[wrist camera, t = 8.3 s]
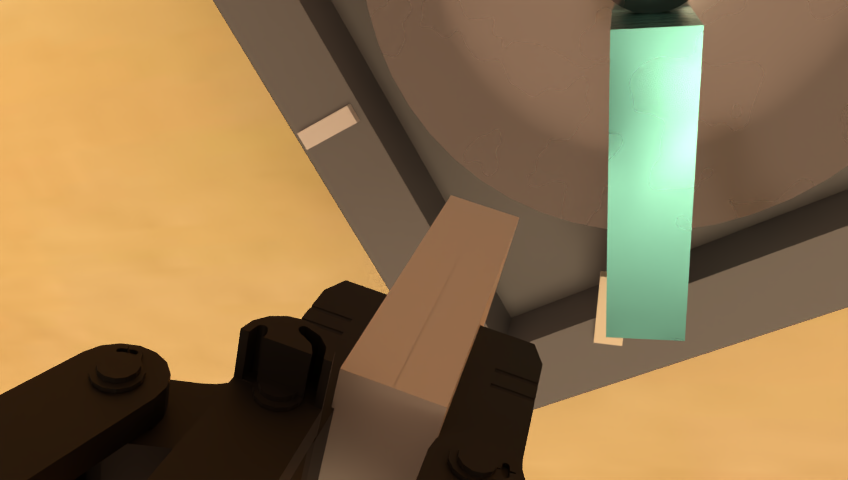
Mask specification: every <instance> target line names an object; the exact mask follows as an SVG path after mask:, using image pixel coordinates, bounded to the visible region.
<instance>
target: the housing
mask: <svg viewBox="0 0 848 480" xmlns="http://www.w3.org/2000/svg"><path fill="white" fill-rule="evenodd" d="M213 1H214V3H215V5H216V6H217V8H218V10H219V11H220V13H221V14H222V16H223V18H224V19H225V21H226V23H227V24H228V26H229V28H230V29H231V31H232V33H233V34H234V36H235V37H236V39H237V41H238V42H239V44H240V46H241V47H242V49H243V51H244V52H245V54H246V56H247V57H248V59H249V60H250V62H251V64H252V65H253V67H254V69H255V70H256V72H257V74H258V75H259V77H260V79H261V80H262V82H263V83H264V85H265V87H266V88H267V90H268V92H269V93H270V95H271V97H272V98H273V100H274V102H275V103H276V105H277V106H278V108H279V110H280V111H281V113H282V115H283V116H284V118H285V120H286V121H287V123H288V125H289V126H290V128H291V130H292V131H293V133H294V134H295V136H296V138H297V139H298V141H299V143H300V144H301V146H302V148H303V149H304V151H305V153H306V154H307V156H308V157H309V159H310V161H311V162H312V164H313V166H314V167H315V169H316V171H317V172H318V174H319V176H320V177H321V179H322V180H323V182H324V184H325V185H326V187H327V189H328V190H329V192H330V194H331V195H332V197H333V199H334V200H335V202H336V203H337V205H338V207H339V208H340V210H341V212H342V213H343V215H344V217H345V218H346V220H347V222H348V223H349V225H350V227H351V228H352V230H353V231H354V233H355V235H356V236H357V238H358V240H359V241H360V243H361V245H362V246H363V248H364V250H365V251H366V253H367V254H368V256H369V258H370V259H371V261H372V263H373V264H374V266H375V268H376V269H377V271H378V273H379V274H380V276H381V277H382V279H383V281H384V282H385V284H386V286H387V287H388V289H389V291H390V290H391V288H392V287H393V285H394V283H395V282H396V280H397V279H398V277H399V276H400V274H401V273H402V271H403V269H404V268H405V266H406V265H407V263H408V262H409V260H410V258H411V257H412V255H413V254H414V252H415V251H416V249H417V247H418V246H419V244H420V243H421V241H422V240H423V238H424V237H425V235H426V233H427V232H428V230H429V229H430V227H431V226H432V224H433V222H434V221H435V219H436V218H437V216H438V215H439V213H440V211H441V210H442V208H443V207H444V205H445V204H446V202H447V201H448V199H449V197H450V196H451V195H452V196H455V197H458V198H461V199H464V200H467V201H470V202H473V203H476V204H479V205H483V206H486V207H489V208H492V209H495V210H498V211H501V212H504V213H507V214H510V215H513V216H516V217H519V220H518V223H517V226H516V230H515V233H514V236H513V239H512V242H511V245H510V248H509V251H508V254H507V257H506V260H505V263H504V266H503V269H502V272H501V275H500V278H499V282H498V285H497V288H496V291H495V294H494V297H493V300H492V303H491V306H490V309H489V312H488V315H487V318H486V321H485V324H484V327H487V328H490V329H493V330H496V331H498V332H501V333H504V334H507V335H510V336H513V337H516V338H519V339H521V340H524V341H527V342H530V343H533V344H535V346H536V349H537V351H538V354H539V357H540V359H541V362H542V364H543V365H542V370H541V375H540V379H539V384H538V389H537V394H536V398H535V401H534V408H533V410H534V409H537V408H540V407H543V406H546V405H549V404H552V403H555V402H558V401H561V400H564V399H567V398H570V397H574V396H577V395H580V394H583V393H586V392H589V391H592V390H595V389H598V388H601V387H604V386H607V385H610V384H613V383H617V382H620V381H623V380H626V379H629V378H632V377H635V376H638V375H641V374H644V373H647V372H650V371H653V370H656V369H660V368H663V367H666V366H669V365H672V364H675V363H678V362H681V361H684V360H687V359H690V358H693V357H696V356H699V355H702V354H706V353H709V352H712V351H715V350H718V349H721V348H724V347H727V346H730V345H733V344H736V343H739V342H742V341H745V340H749V339H752V338H755V337H758V336H761V335H764V334H767V333H770V332H773V331H776V330H779V329H782V328H785V327H788V326H792V325H795V324H798V323H801V322H804V321H807V320H810V319H813V318H816V317H819V316H822V315H825V314H828V313H831V312H835V311H838V310H841V309H844V308H847V307H848V166H846V167H845V168H843V169H842V170H840V171H839V172H837V173H836V174H835V175H833V176H832V177H830V178H829V179H827V180H825V181H824V182H822V183H820V184H818V185H816V186H814V187H812V188H810V189H809V190H807V191H805V192H803V193H801V194H799V195H797V196H796V197H794V198H792V199H790V200H787V201H785V202H782V203H780V204H777V205H775V206H772V207H770V208H767V209H765V210H762V211H760V212H757V213H755V214H752V215H748V216H744V217H741V218H737V219H734V220H730V221H727V222H723V223H719V224H715V225H709V226H702V227H696V228H692V231H691V247H690V264H689V280H688V297H687V314H686V330H685V341H673V340H652V339H632V338H611V337H606V298H607V229H604V228H599V227H593V226H588V225H583V224H578V223H573V222H570V221H567V220H563V219H560V218H557V217H554V216H551V215H548V214H545V213H542V212H539V211H537V210H535V209H533V208H530V207H528V206H526V205H524V204H522V203H520V202H517V201H515V200H513V199H511V198H509V197H507V196H506V195H504V194H502V193H501V192H499V191H498V190H496V189H494V188H493V187H491V186H489V185H488V184H486V183H485V182H483V181H481V180H480V179H479V178H477V177H476V176H475V175H474V174H472V173H471V172H470V171H469V170H468V169H466V168H465V167H464V166H463V165H461V164H460V163H459V162H458V161H456V160H455V159H454V158H453V157H452V156H451V155H450V154H449V153H448V152H447V151H446V150H445V149H444V148H443V147H442V146H441V145H440V144H439V143H438V142H437V141H436V139H435V138H434V137H433V136H432V135H431V134H430V133H429V132H428V130H427V129H426V128H425V126H424V125H423V124H422V122H421V121H420V120H419V118H418V117H417V116H416V114H415V113H414V112H413V110H412V109H411V108H410V106H409V105H408V103H407V101H406V100H405V98H404V96H403V94H402V93H401V91H400V89H399V87H398V86H397V84H396V82H395V80H394V79H393V77H392V75H391V73H390V70H389V68H388V66H387V63H386V61H385V59H384V56H383V54H382V51H381V49H380V47H379V44H378V42H377V38H376V35H375V31H374V28H373V24H372V21H371V18H370V14H369V11H368V7H367V1H366V0H213Z"/></svg>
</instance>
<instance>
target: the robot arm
mask: <svg viewBox="0 0 848 480" xmlns="http://www.w3.org/2000/svg"><path fill="white" fill-rule="evenodd" d="M518 220H519V217H516V216H513V215H510V214H507V213H504V212H501V211H498V210H495V209H492V208H489V207H486V206H483V205H479V204H476V203H473V202H470V201H467V200H464V199H461V198H458V197H455V196H452V195H451V196H450V197H449V199H448V201H447V202H446V204H445V205H444V207H443V208H442V210H441V211H440V213H439V215H438V216H437V218H436V219H435V221H434V222H433V224H432V226H431V227H430V229H429V230H428V232H427V233H426V235H425V237H424V238H423V240H422V241H421V243H420V244H419V246H418V247H417V249H416V251H415V252H414V254H413V255H412V257H411V258H410V260H409V262H408V263H407V265H406V266H405V268H404V269H403V271H402V273H401V274H400V276H399V277H398V279H397V280H396V282H395V283H394V285H393V287H392V288H391V290H390V291H389V293H388V294H387V295H386V294H383V293H381V292H378V291H375V290H372V289H369V288H366V287H363V286H360V285H358V284H355V283H352V282H349V281H343V282H341V283H339V284H337V285H334V286H332V287H330V288H328V289H325V290H324V291H323V292H322V294H321V295H320V296H319V297H318V299H317V300H316V301H315V302H314V304H313V305H312V307H311V308H309V310H308V311H307V312H306V313H305V315H304V316H303V317H302V319H298V318H293V317H289V316H268V317H264V318H260V319H257V320H253V321H251V322H250V323H248V324H247V325H245V326H244V327H242V328H241V330H240V337H239V344H238V351H237V358H236V365H235V372H234V377H233V378H232V380H231V381H230V382H229V383H224V384H201V383H193V382H185V381H176V380H170V376H171V374H170V371H169V367H168V364H167V362H166V361H165V360H164V359H163V358H162V357H161V356H159V355H158V354H157V353H156V352H154V351H151V350H149V349H146V348H144V347H142V346H137V345H129V344H111V345H101V346H98V347H95V348H93V349H90V350H87V351H84V352H82V353H80V354H78V355H76V356H74V357H72V358H70V359H68V360H66V361H65V362H63V363H61V364H59V365H57V366H55V367H53V368H51V369H49V370H47V371H45V372H43V373H42V374H40V375H38V376H36V377H34V378H32V379H30V380H28V381H26V382H24V383H22V384H20V385H18V386H17V387H15V388H13V389H11V390H9V391H7V392H5V393H3V394H1V395H0V480H525V478H524V474H523V470H522V463H523V455H524V451H525V446H526V441H527V436H528V432H529V427H530V422H531V417H532V413H533V408H534V401H535V398H536V394H537V389H538V384H539V379H540V375H541V370H542V365H543V364H542V362H541V359H540V357H539V354H538V351H537V349H536V346H535V344H533V343H530V342H527V341H524V340H521V339H519V338H516V337H513V336H510V335H507V334H504V333H501V332H498V331H496V330H493V329H490V328H487V327H484V324H485V321H486V318H487V315H488V312H489V309H490V306H491V303H492V300H493V297H494V294H495V291H496V288H497V285H498V282H499V278H500V275H501V272H502V269H503V266H504V263H505V260H506V257H507V254H508V251H509V248H510V245H511V242H512V239H513V236H514V233H515V230H516V226H517V223H518Z"/></svg>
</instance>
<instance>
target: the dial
mask: <svg viewBox="0 0 848 480" xmlns="http://www.w3.org/2000/svg"><path fill="white" fill-rule="evenodd" d="M366 1H367V7H368V11H369V14H370V18H371V21H372V24H373V28H374V31H375V35H376V38H377V42H378V44H379V47H380V49H381V51H382V54H383V56H384V59H385V61H386V63H387V66H388V68H389V70H390V73H391V75H392V77H393V79H394V80H395V82H396V84H397V86H398V87H399V89H400V91H401V93H402V94H403V96H404V98H405V100H406V101H407V103H408V105H409V106H410V108H411V109H412V110H413V112H414V113H415V114H416V116H417V117H418V118H419V120H420V121H421V122H422V124H423V125H424V126H425V128H426V129H427V130H428V132H429V133H430V134H431V135H432V136H433V137H434V138H435V139H436V141H437V142H438V143H439V144H440V145H441V146H442V147H443V148H444V149H445V150H446V151H447V152H448V153H449V154H450V155H451V156H452V157H453V158H454V159H455V160H456V161H458V162H459V163H460V164H461V165H463V166H464V167H465V168H466V169H468V170H469V171H470V172H471V173H472V174H474V175H475V176H476V177H477V178H479V179H480V180H481V181H483V182H485V183H486V184H488V185H489V186H491V187H493V188H494V189H496V190H498V191H499V192H501V193H502V194H504V195H506V196H507V197H509V198H511V199H513V200H515V201H517V202H520V203H522V204H524V205H526V206H528V207H530V208H533V209H535V210H537V211H539V212H542V213H545V214H548V215H551V216H554V217H557V218H560V219H563V220H567V221H570V222H573V223H578V224H583V225H588V226H593V227H599V228H604V229H607V298H606V337H611V338H632V339H652V340H673V341H685V330H686V314H687V297H688V280H689V264H690V247H691V231H692V228H696V227H702V226H709V225H715V224H719V223H723V222H727V221H730V220H734V219H737V218H741V217H744V216H748V215H752V214H755V213H757V212H760V211H762V210H765V209H767V208H770V207H772V206H775V205H777V204H780V203H782V202H785V201H787V200H790V199H792V198H794V197H796V196H797V195H799V194H801V193H803V192H805V191H807V190H809V189H810V188H812V187H814V186H816V185H818V184H820V183H822V182H824V181H825V180H827V179H829V178H830V177H832V176H833V175H835V174H836V173H837V172H839V171H840V170H842V169H843V168H845V167H846V166H848V0H366Z"/></svg>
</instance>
